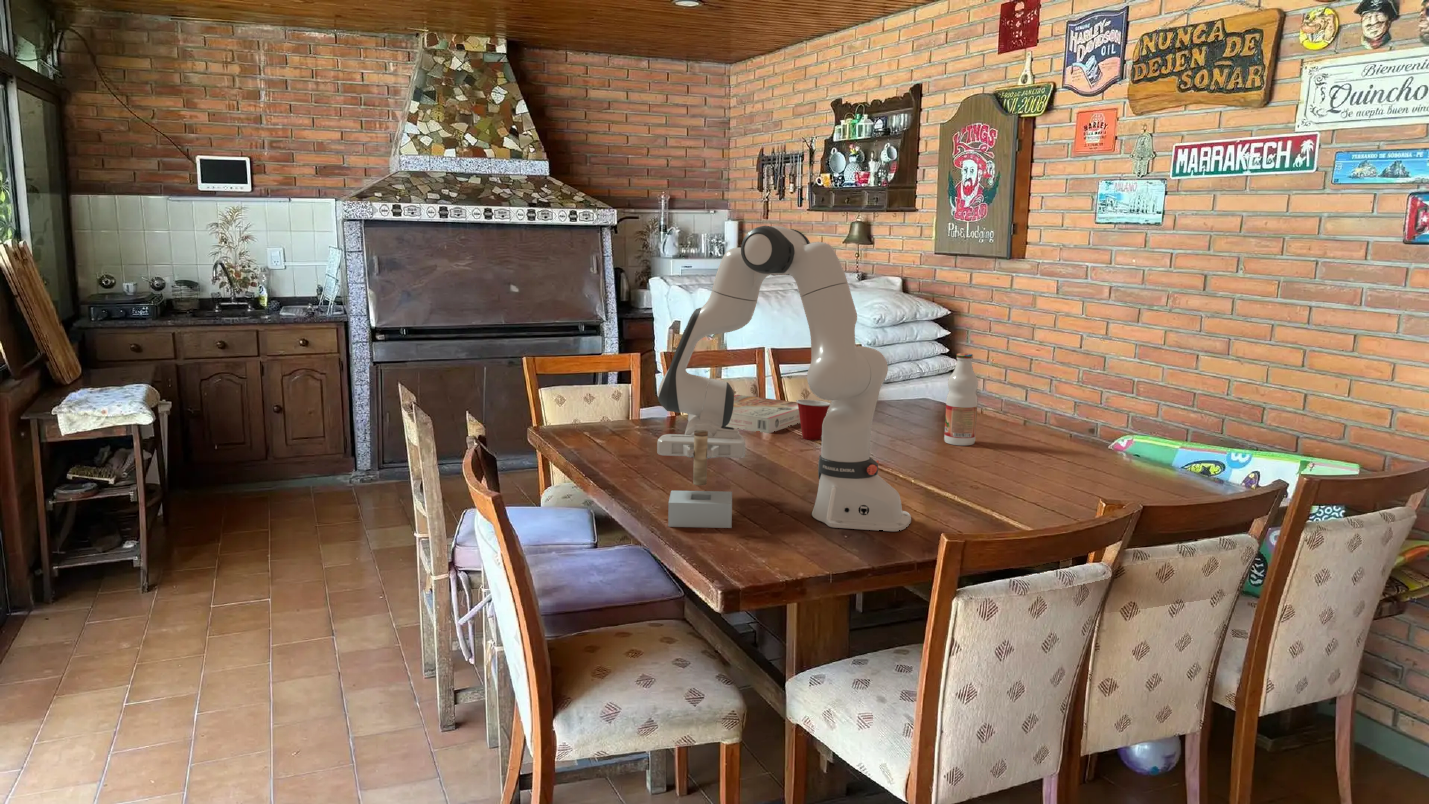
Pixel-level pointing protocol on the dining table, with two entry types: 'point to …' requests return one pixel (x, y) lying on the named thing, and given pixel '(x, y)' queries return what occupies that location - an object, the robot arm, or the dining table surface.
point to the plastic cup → (812, 417)
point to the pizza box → (762, 414)
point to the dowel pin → (700, 457)
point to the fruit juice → (961, 403)
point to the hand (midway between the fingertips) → (700, 454)
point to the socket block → (700, 509)
